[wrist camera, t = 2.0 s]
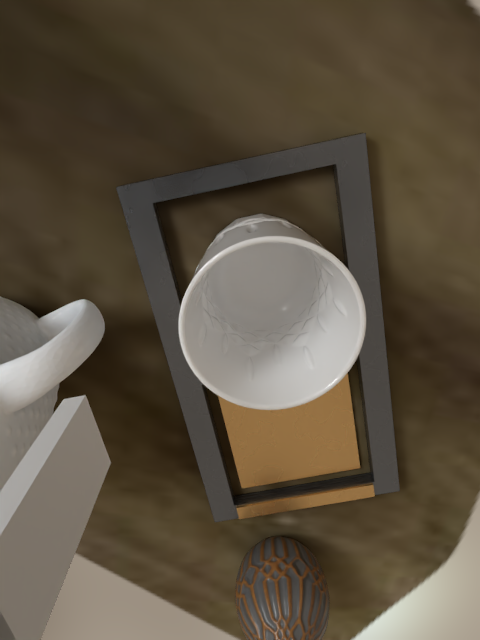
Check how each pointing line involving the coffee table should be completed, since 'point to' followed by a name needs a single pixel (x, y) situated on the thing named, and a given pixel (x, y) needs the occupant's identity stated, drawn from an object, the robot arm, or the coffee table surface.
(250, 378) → the white cup
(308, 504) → the grey double frame
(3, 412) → the mug
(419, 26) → the coffee table surface
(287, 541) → the vase
